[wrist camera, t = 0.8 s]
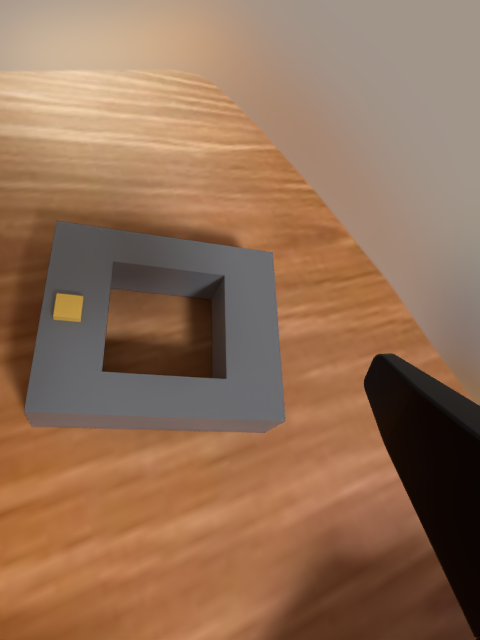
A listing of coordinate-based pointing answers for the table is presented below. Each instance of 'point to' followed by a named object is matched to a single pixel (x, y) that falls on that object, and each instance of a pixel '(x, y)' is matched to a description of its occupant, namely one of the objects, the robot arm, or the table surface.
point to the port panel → (143, 389)
